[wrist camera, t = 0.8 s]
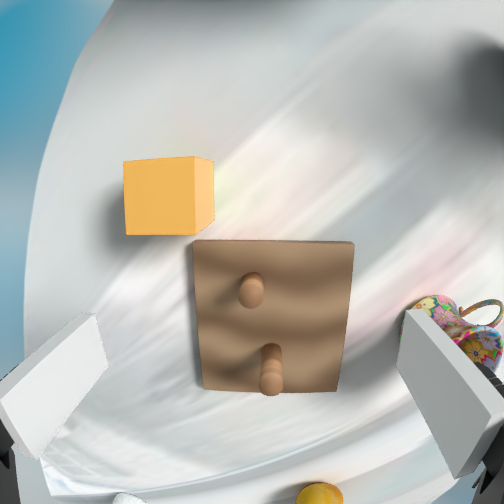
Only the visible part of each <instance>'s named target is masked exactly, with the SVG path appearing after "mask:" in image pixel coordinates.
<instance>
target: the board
mask: <svg viewBox="0 0 504 504" xmlns="http://www.w3.org/2000/svg"><path fill="white" fill-rule="evenodd" d="M354 246H355V245H354V244H353V243H352V242H346V241H282V240H195V241H194V242H193V264H194V282H195V298H196V312H197V325H198V337H199V348H200V359H201V369H202V379H203V388H204V389H206V390H219V391H235V392H260V393H262V394H264V395H267V396H275V395H278V394H279V393H313V392H336V390H337V385H338V379H339V373H340V367H341V361H342V355H343V348H344V341H345V334H346V326H347V318H348V310H349V301H350V292H351V282H352V271H353V259H354Z"/></svg>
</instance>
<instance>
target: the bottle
mask: <svg viewBox="0 0 504 504" xmlns="http://www.w3.org/2000/svg"><path fill="white" fill-rule="evenodd" d="M112 504H147V503H146V502H145V501H144V500H142V499H141V498H139V497H137V496H134V495H132V494H128V493H119V494H117V496H116V497H115V498H114V500H113V502H112Z"/></svg>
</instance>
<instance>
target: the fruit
mask: <svg viewBox="0 0 504 504" xmlns="http://www.w3.org/2000/svg"><path fill="white" fill-rule="evenodd" d="M295 504H343V496H342V493H341V492H340V490H339V489H338V488H337V487H336V486H334V485H331V484H328V483H317V484H312V485H309V486H307V487H305V488H304V489H303V490H302V491H301V492H300V493H299V494H298V496H297V499H296V502H295Z"/></svg>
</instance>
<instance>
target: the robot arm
mask: <svg viewBox="0 0 504 504" xmlns="http://www.w3.org/2000/svg"><path fill="white" fill-rule="evenodd" d="M108 366H109V364H108V361H107V357H106V354H105V351H104V347H103V343H102V340H101V336H100V332H99V328H98V324H97V320H96V316H95V313H83V312H81V313H80V314H79V315H78V316H77V317H75V318H74V319H73V320H72V321H70V322H69V323H68V324H67V325H65V326H64V327H63V328H62V329H61V330H59V331H58V332H57V333H56V334H55V335H53V336H52V337H51V338H50V339H49V340H47V341H46V342H45V343H44V344H43V345H41V346H40V347H39V348H38V349H37V350H36V351H34V352H33V353H32V354H31V355H30V356H29V357H27V358H26V359H25V360H24V361H23V362H22V363H21V364H19V365H17V366H16V367H15V368H14V369H12V370H11V371H10V373H9V374H7V375H6V376H4V378H3V379H1V380H0V504H21V503H20V497H19V490H18V483H17V475H16V466H15V455H14V452H13V450H12V448H11V446H12V445H13V444H14V443H15V444H16V445H17V447H18V449H19V450H20V452H21V453H22V454H23V455H25V456H27V457H29V458H32V459H34V460H36V461H37V459H38V458H39V457H40V455H41V454H42V453H43V451H44V450H45V448H46V447H47V446H48V444H49V443H50V442H51V440H52V439H53V438H54V436H55V435H56V434H57V432H58V431H59V429H60V428H61V427H62V425H63V424H64V423H65V421H66V420H67V419H68V417H69V416H70V415H71V414H72V412H73V411H74V410H75V408H76V407H77V406H78V404H79V403H80V402H81V400H82V399H83V398H84V397H85V395H86V394H87V393H88V391H89V390H90V389H91V387H92V386H93V385H94V384H95V382H96V381H97V380H98V379H99V377H100V376H101V375H102V373H103V372H104V371H105V370H106V368H107V367H108ZM396 367H397V369H398V371H399V373H400V375H401V376H402V378H403V380H404V382H405V384H406V385H407V387H408V389H409V391H410V393H411V394H412V396H413V398H414V400H415V402H416V404H417V406H418V407H419V409H420V411H421V413H422V415H423V417H424V419H425V421H426V423H427V425H428V427H429V429H430V430H431V432H432V434H433V436H434V438H435V440H436V442H437V444H438V446H439V448H440V450H441V452H442V455H443V457H444V459H445V461H446V463H447V465H448V467H449V469H450V471H451V473H452V476H453V478H454V479H457V478H460V477H463V476H465V475H467V474H470V473H473V472H474V471H475V469H476V468H477V467H478V465H479V464H480V462H481V461H483V463H484V464H485V466H486V468H485V469H484V471H483V472H482V473H481V475H480V476H479V477H478V479H477V480H476V482H475V483H474V485H473V486H472V488H475V487H476V486H477V484H478V483H479V484H478V487H477V490H476V493H475V496H474V499H473V502H472V504H504V385H502V382H501V381H500V380H499V378H496V375H495V374H494V373H493V372H492V371H491V370H490V369H489V368H488V367H487V366H485V365H483V364H481V363H480V362H478V361H477V362H472V361H471V360H470V359H469V358H468V357H467V356H466V354H465V353H464V352H463V351H462V350H461V349H460V348H459V347H458V346H457V345H456V344H455V342H454V341H453V340H452V339H451V338H450V337H449V336H448V335H447V334H446V333H445V332H444V331H443V330H442V329H441V328H440V327H439V326H438V325H437V324H436V323H435V321H434V320H433V319H432V318H431V317H430V316H429V315H428V314H427V313H426V312H425V311H424V310H423V309H412V310H406V312H405V319H404V325H403V331H402V337H401V342H400V347H399V352H398V357H397V362H396Z"/></svg>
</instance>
